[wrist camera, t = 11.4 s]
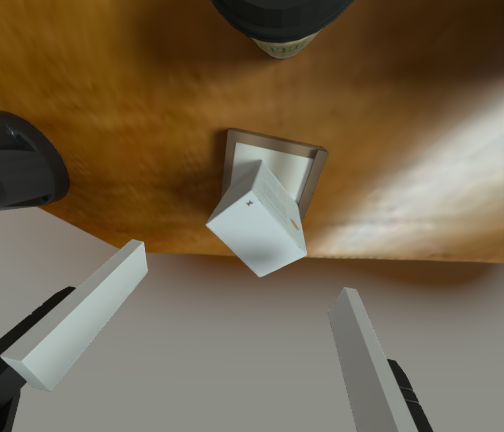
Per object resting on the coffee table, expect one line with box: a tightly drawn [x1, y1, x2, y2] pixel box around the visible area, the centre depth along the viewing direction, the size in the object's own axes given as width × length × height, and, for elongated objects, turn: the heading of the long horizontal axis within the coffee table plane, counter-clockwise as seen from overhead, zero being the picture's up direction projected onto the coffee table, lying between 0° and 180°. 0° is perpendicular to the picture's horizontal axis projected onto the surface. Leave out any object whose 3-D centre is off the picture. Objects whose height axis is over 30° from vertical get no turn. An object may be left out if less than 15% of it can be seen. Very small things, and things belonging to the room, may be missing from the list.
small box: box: [206, 160, 307, 277], centre depth 21 cm, size 8×6×10 cm
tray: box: [220, 128, 328, 224], centre depth 27 cm, size 12×14×4 cm
